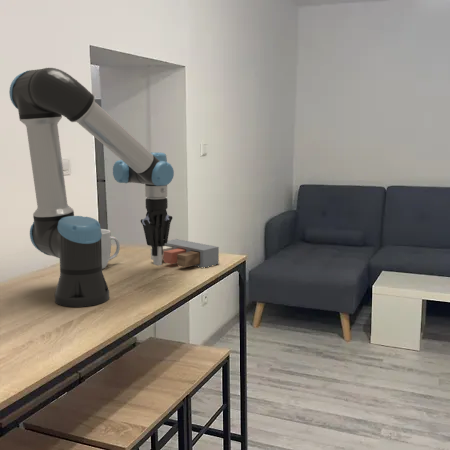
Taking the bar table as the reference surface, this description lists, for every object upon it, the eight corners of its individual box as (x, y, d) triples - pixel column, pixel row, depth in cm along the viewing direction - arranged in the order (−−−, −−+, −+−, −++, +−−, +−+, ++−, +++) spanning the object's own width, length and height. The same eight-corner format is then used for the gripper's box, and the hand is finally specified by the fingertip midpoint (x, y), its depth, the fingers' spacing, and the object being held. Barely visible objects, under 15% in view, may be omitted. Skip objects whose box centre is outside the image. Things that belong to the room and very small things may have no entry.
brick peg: (171, 264, 197) (171, 253, 196) (163, 262, 199) (163, 251, 199) (189, 259, 203) (189, 249, 203) (181, 258, 206) (181, 247, 205)
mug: (112, 261, 206) (111, 226, 204) (127, 266, 198) (126, 230, 196) (74, 267, 197) (73, 230, 195) (88, 273, 189) (87, 235, 186)
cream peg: (158, 261, 201) (158, 250, 201) (150, 259, 204) (150, 248, 203) (176, 256, 208) (176, 246, 207) (168, 255, 210) (168, 245, 210)
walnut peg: (185, 267, 192) (185, 256, 191) (177, 265, 195) (177, 254, 194) (203, 262, 199) (203, 251, 198) (195, 261, 201) (195, 250, 201)
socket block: (203, 268, 196) (203, 250, 195) (161, 258, 211) (161, 241, 209) (218, 264, 202) (218, 246, 201) (176, 255, 216) (176, 238, 215)
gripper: (149, 200, 183) (150, 269, 187) (177, 196, 193) (178, 263, 197) (134, 198, 188) (136, 266, 192) (163, 195, 198) (164, 259, 202)
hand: (157, 264), depth 194 cm, fingers closed
